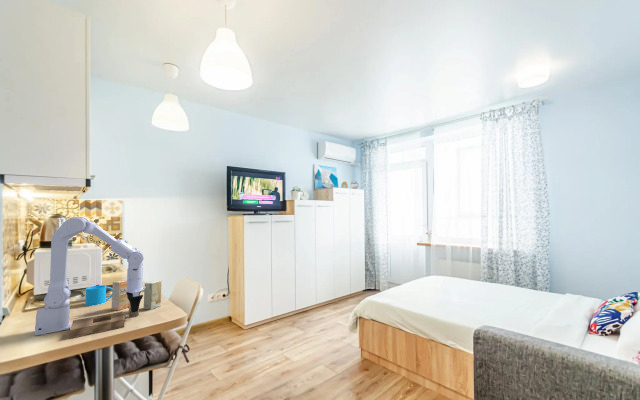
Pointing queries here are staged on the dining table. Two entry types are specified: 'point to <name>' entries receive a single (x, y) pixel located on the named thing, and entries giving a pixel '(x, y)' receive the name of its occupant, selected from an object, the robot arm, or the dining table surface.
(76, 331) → the socket board
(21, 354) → the dining table surface
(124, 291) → the supplement box
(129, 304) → the pin
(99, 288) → the mug
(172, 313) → the dining table surface
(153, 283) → the skincare box
